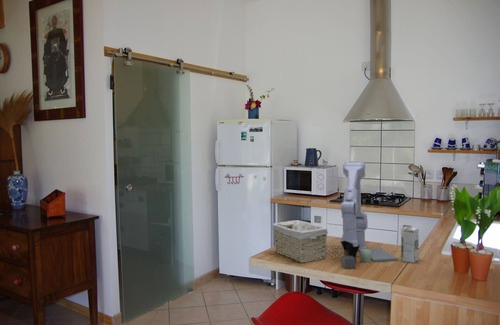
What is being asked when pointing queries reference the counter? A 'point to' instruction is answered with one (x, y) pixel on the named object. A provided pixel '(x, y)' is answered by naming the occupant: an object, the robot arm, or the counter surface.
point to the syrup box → (409, 244)
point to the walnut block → (347, 254)
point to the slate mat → (381, 255)
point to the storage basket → (300, 240)
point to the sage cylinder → (365, 255)
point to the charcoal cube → (348, 262)
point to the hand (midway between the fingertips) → (350, 258)
